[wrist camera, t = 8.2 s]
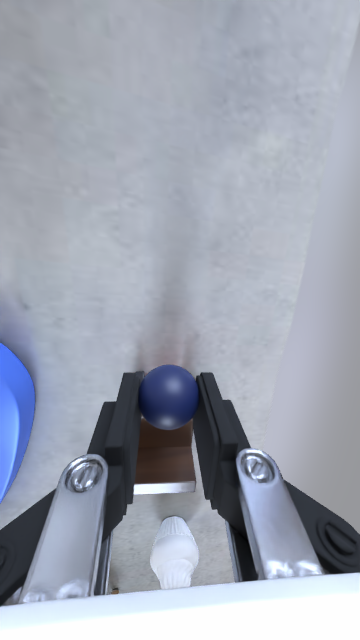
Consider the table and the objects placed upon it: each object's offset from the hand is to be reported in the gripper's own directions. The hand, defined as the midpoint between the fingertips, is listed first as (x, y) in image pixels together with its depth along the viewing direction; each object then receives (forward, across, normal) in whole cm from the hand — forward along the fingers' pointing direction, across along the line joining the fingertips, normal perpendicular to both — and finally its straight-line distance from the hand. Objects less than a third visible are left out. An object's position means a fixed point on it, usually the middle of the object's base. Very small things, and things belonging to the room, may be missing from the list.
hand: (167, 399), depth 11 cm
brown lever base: (+10, 0, +11) cm, 15 cm away
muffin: (+10, -2, +30) cm, 32 cm away
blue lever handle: (+4, 0, +2) cm, 5 cm away
